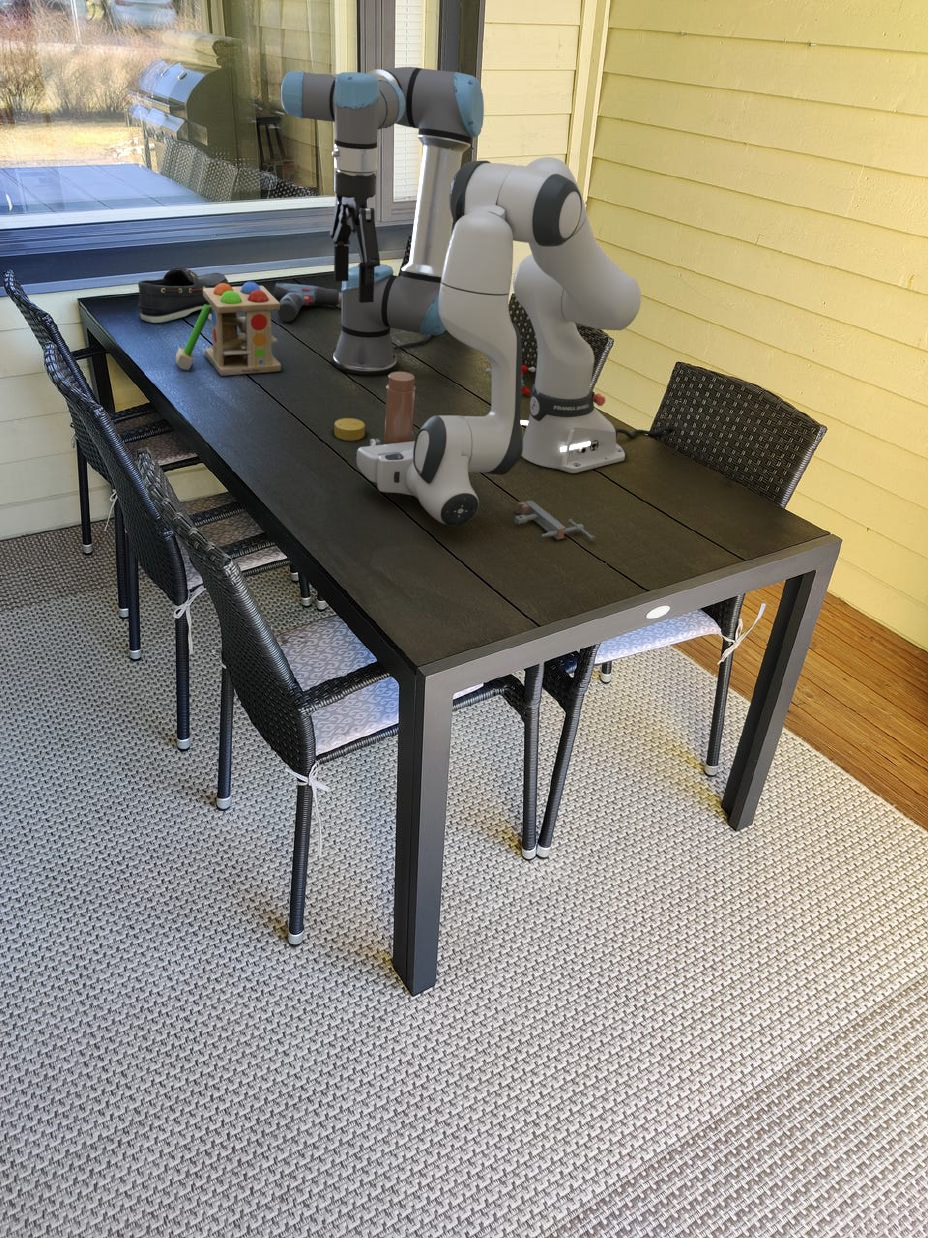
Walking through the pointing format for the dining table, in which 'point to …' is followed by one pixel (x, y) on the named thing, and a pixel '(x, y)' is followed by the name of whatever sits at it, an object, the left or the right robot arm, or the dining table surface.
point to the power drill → (302, 298)
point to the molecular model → (524, 369)
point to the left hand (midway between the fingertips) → (353, 291)
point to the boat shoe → (175, 294)
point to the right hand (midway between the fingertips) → (396, 439)
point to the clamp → (546, 521)
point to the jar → (399, 408)
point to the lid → (349, 429)
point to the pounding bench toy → (229, 347)
